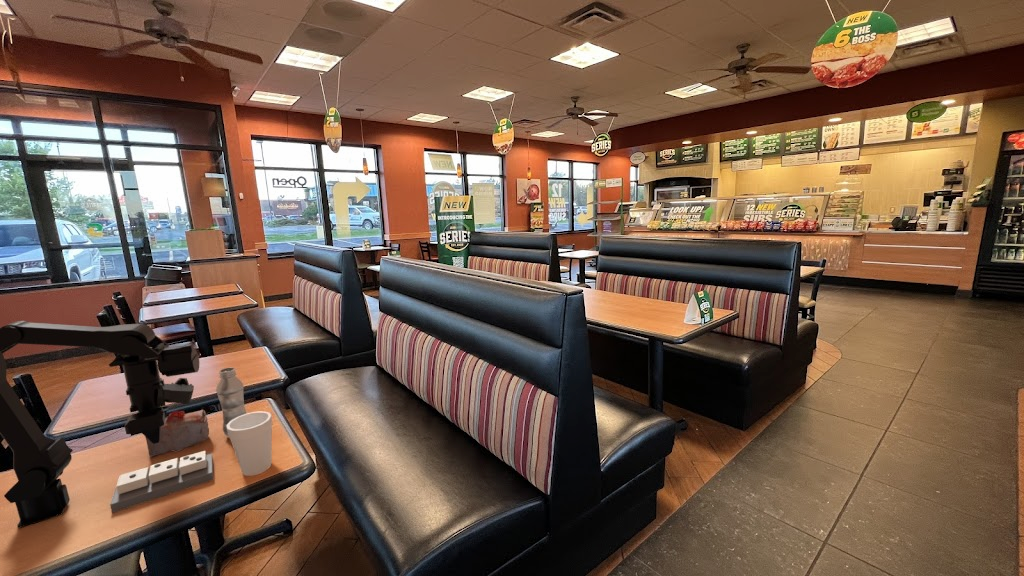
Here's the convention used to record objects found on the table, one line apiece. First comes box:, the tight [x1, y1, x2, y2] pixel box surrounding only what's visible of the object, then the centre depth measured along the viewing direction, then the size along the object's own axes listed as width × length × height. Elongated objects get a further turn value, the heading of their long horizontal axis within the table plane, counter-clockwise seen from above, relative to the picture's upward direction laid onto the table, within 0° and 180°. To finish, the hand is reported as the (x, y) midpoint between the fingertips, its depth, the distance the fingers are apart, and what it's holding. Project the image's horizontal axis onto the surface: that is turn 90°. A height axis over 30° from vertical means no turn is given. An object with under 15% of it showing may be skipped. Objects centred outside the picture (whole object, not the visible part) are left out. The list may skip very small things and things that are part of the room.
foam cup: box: [226, 410, 274, 477], centre depth 103 cm, size 10×9×13 cm
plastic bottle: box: [215, 367, 247, 438], centre depth 118 cm, size 6×7×20 cm
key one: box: [115, 466, 150, 494], centre depth 95 cm, size 5×5×2 cm
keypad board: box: [109, 453, 214, 514], centre depth 99 cm, size 18×10×2 cm, turn 126°
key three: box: [179, 450, 207, 475], centre depth 102 cm, size 5×5×2 cm
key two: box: [149, 457, 180, 484], centre depth 98 cm, size 5×5×2 cm
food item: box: [145, 409, 210, 458], centre depth 115 cm, size 14×8×10 cm, turn 126°
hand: (156, 442), depth 97 cm, fingers closed
